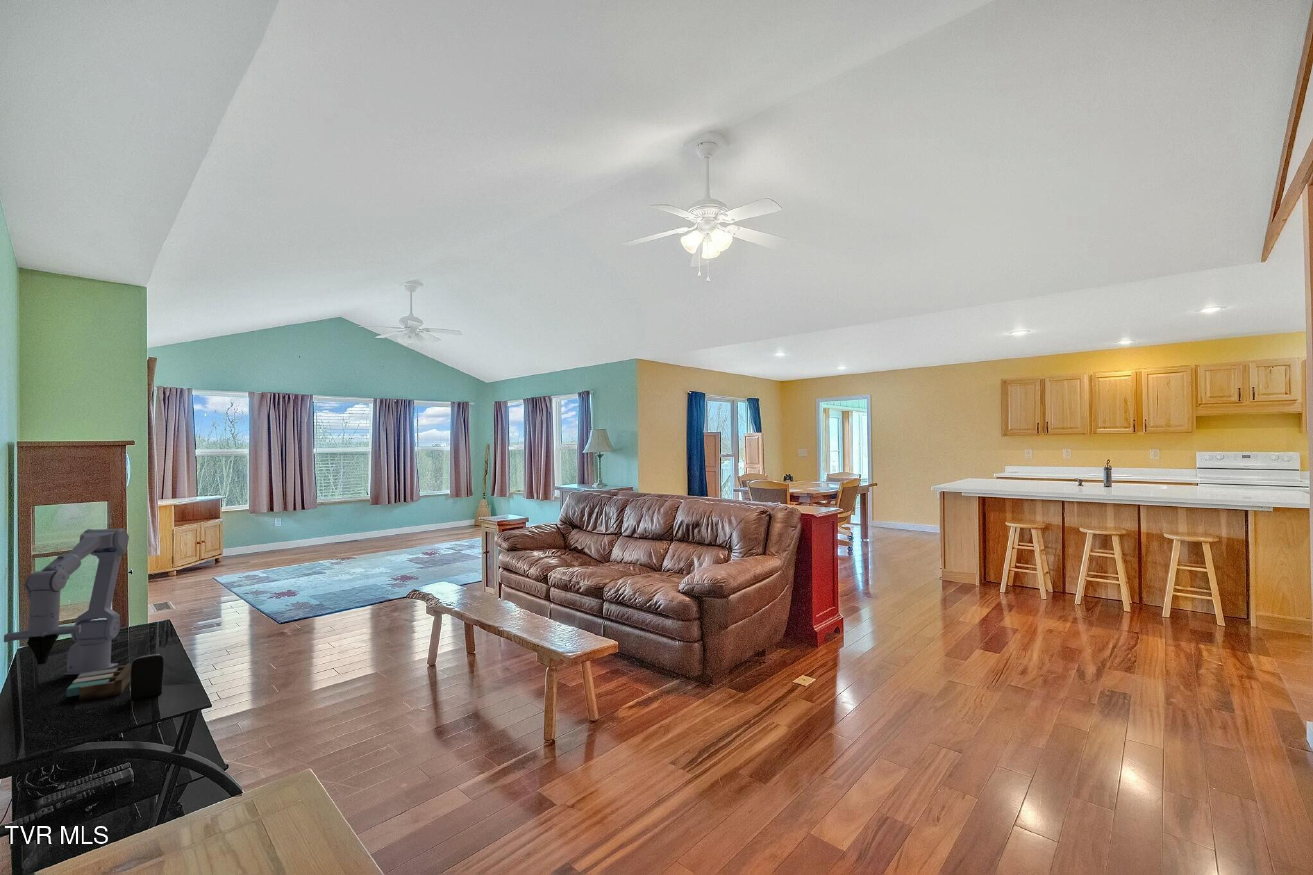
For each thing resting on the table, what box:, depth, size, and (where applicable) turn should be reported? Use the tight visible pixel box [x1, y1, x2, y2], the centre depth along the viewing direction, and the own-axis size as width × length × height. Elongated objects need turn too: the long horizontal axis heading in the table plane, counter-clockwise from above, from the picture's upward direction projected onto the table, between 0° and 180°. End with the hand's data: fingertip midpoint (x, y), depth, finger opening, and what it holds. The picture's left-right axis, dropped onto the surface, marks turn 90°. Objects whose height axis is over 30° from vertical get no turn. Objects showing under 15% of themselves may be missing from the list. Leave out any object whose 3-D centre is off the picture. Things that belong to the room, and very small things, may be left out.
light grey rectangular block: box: [76, 668, 118, 679], centre depth 166 cm, size 8×3×2 cm, turn 124°
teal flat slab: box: [66, 679, 110, 698], centre depth 157 cm, size 8×3×2 cm, turn 124°
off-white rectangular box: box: [71, 673, 114, 685], centre depth 161 cm, size 8×3×2 cm, turn 124°
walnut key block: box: [78, 662, 132, 701], centre depth 163 cm, size 8×16×4 cm, turn 34°
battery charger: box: [129, 652, 165, 701], centre depth 158 cm, size 7×4×11 cm, turn 133°
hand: (42, 663), depth 156 cm, fingers closed
